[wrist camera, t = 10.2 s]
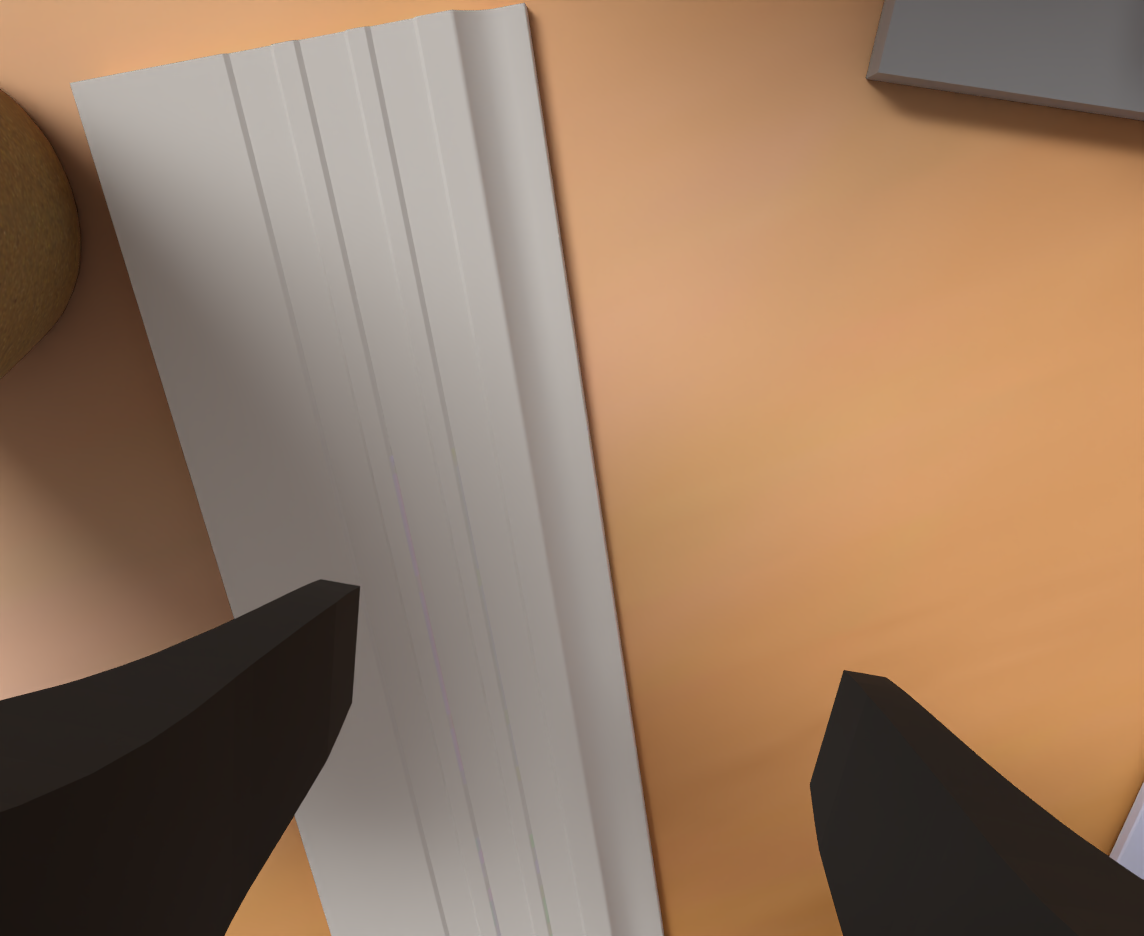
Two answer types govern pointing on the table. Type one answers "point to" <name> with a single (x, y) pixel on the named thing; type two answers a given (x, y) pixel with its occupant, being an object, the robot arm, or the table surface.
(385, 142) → the baseboard molding
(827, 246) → the table surface
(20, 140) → the plant pot
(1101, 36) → the peg stand
